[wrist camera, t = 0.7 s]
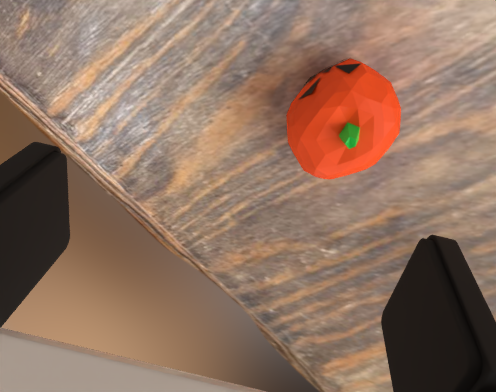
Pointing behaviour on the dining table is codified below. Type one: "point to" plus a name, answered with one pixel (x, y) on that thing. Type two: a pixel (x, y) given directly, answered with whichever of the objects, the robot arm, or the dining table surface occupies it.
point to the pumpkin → (343, 120)
